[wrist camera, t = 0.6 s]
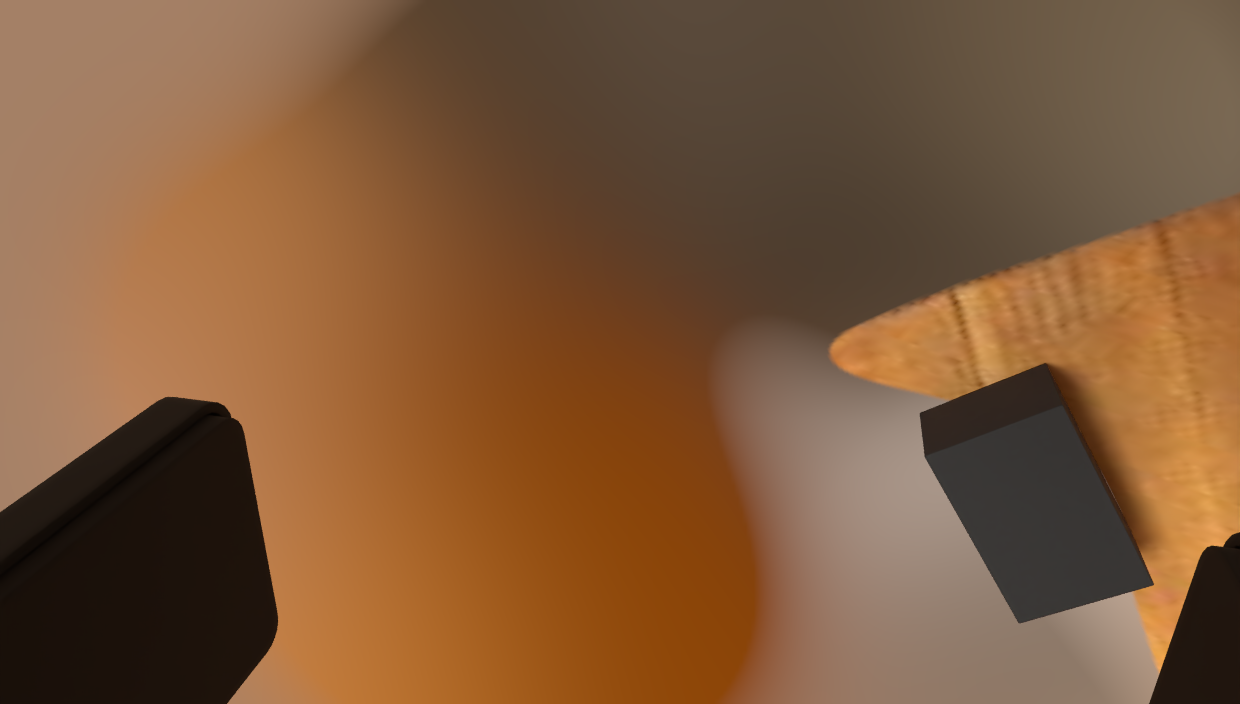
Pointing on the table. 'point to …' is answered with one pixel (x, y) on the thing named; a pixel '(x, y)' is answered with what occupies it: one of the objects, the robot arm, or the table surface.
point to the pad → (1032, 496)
